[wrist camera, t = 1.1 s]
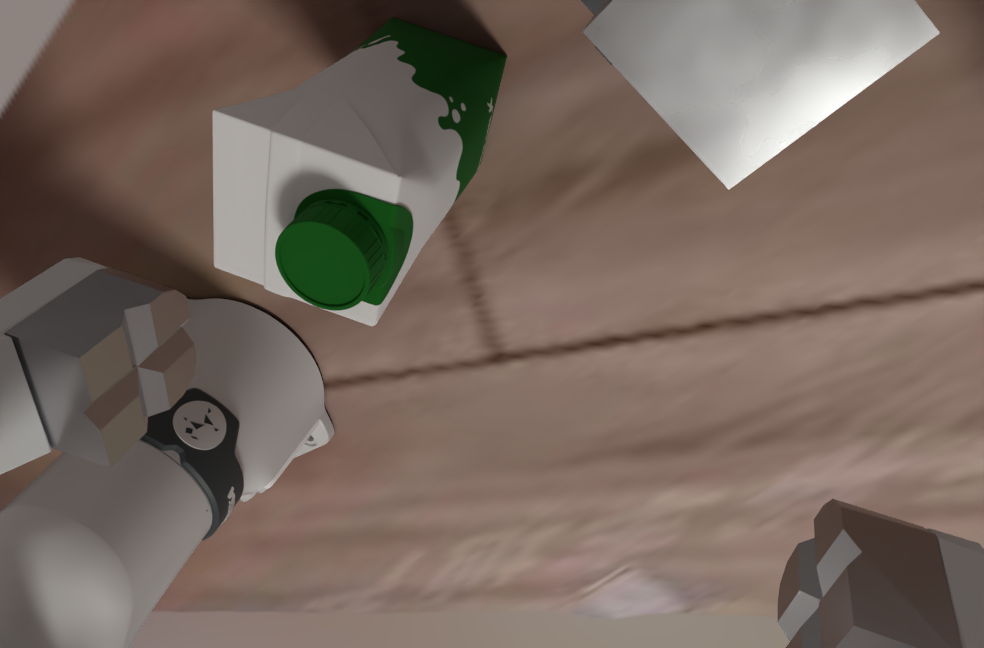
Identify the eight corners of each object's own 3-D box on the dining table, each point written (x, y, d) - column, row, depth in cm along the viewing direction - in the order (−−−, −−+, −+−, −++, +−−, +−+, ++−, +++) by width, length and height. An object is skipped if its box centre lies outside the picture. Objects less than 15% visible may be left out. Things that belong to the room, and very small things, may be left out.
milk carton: (491, 180, 46) (364, 371, 30) (360, 135, 47) (169, 298, 31) (526, 43, 41) (395, 188, 25) (378, -6, 41) (158, 104, 25)
